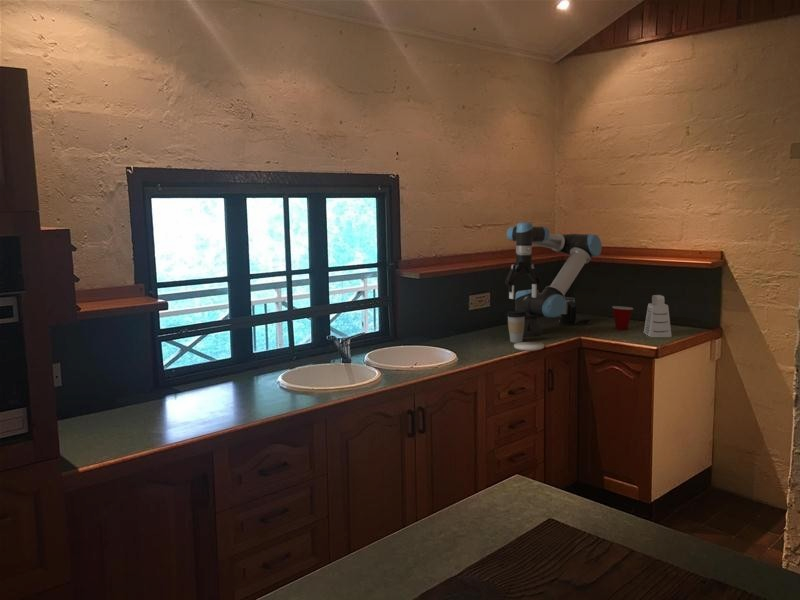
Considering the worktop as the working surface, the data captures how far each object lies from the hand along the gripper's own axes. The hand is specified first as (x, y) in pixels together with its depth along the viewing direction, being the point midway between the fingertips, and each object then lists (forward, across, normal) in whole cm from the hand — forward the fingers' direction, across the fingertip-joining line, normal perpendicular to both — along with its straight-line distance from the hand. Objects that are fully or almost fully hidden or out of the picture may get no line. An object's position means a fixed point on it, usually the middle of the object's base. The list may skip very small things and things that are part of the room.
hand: (522, 298), depth 335 cm
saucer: (+22, -5, -12) cm, 25 cm away
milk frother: (+20, +55, +24) cm, 64 cm away
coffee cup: (+22, -1, +3) cm, 22 cm away
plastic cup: (+20, +65, -2) cm, 68 cm away
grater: (+20, +67, -24) cm, 74 cm away
